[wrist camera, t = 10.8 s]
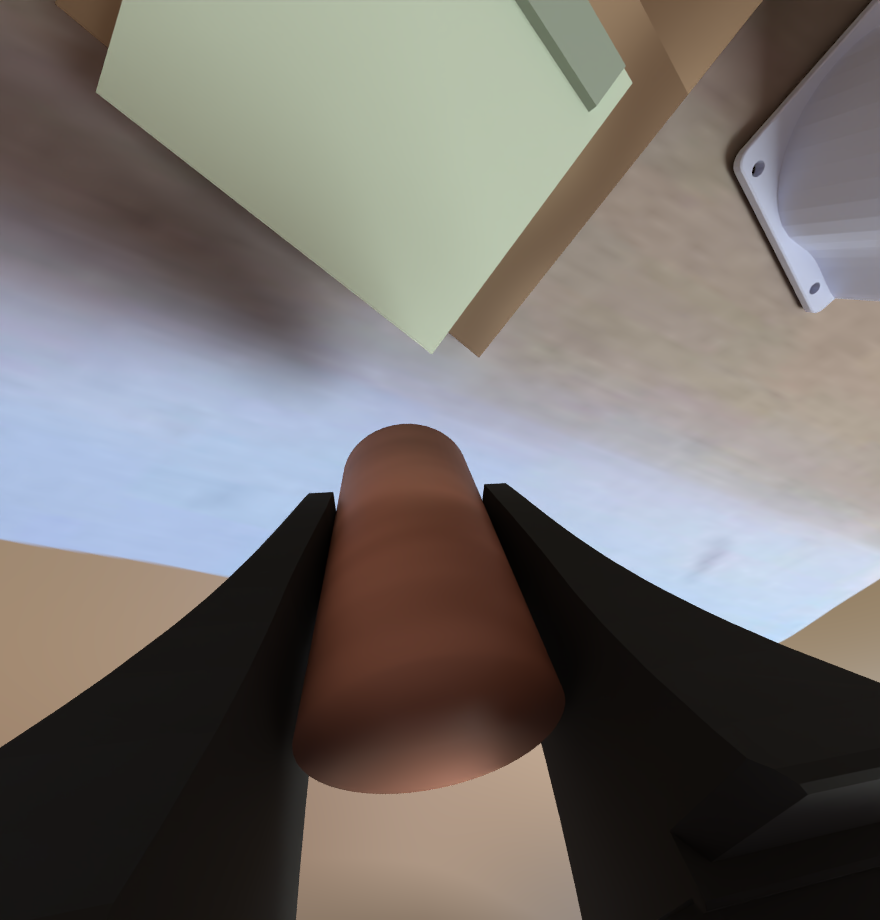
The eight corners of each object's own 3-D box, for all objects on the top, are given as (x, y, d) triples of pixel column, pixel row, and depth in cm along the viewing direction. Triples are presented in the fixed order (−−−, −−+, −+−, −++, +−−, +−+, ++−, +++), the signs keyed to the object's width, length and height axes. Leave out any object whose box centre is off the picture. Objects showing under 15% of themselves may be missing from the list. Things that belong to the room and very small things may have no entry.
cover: (601, 105, 11) (642, 75, 9) (426, 345, 13) (433, 356, 12) (298, -371, 6) (269, -587, 5) (135, 116, 9) (82, 84, 8)
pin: (491, 471, 11) (613, 700, 5) (413, 545, 12) (442, 805, 6) (398, 397, 10) (424, 613, 4) (317, 490, 11) (234, 774, 5)
